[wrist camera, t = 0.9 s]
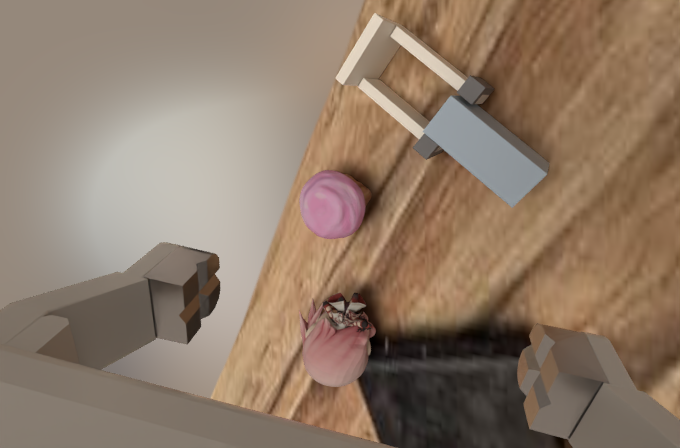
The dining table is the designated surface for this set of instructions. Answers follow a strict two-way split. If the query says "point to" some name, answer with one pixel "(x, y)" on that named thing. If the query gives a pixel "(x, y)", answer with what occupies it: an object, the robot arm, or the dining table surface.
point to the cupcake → (333, 204)
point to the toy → (336, 340)
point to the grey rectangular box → (487, 149)
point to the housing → (365, 72)
